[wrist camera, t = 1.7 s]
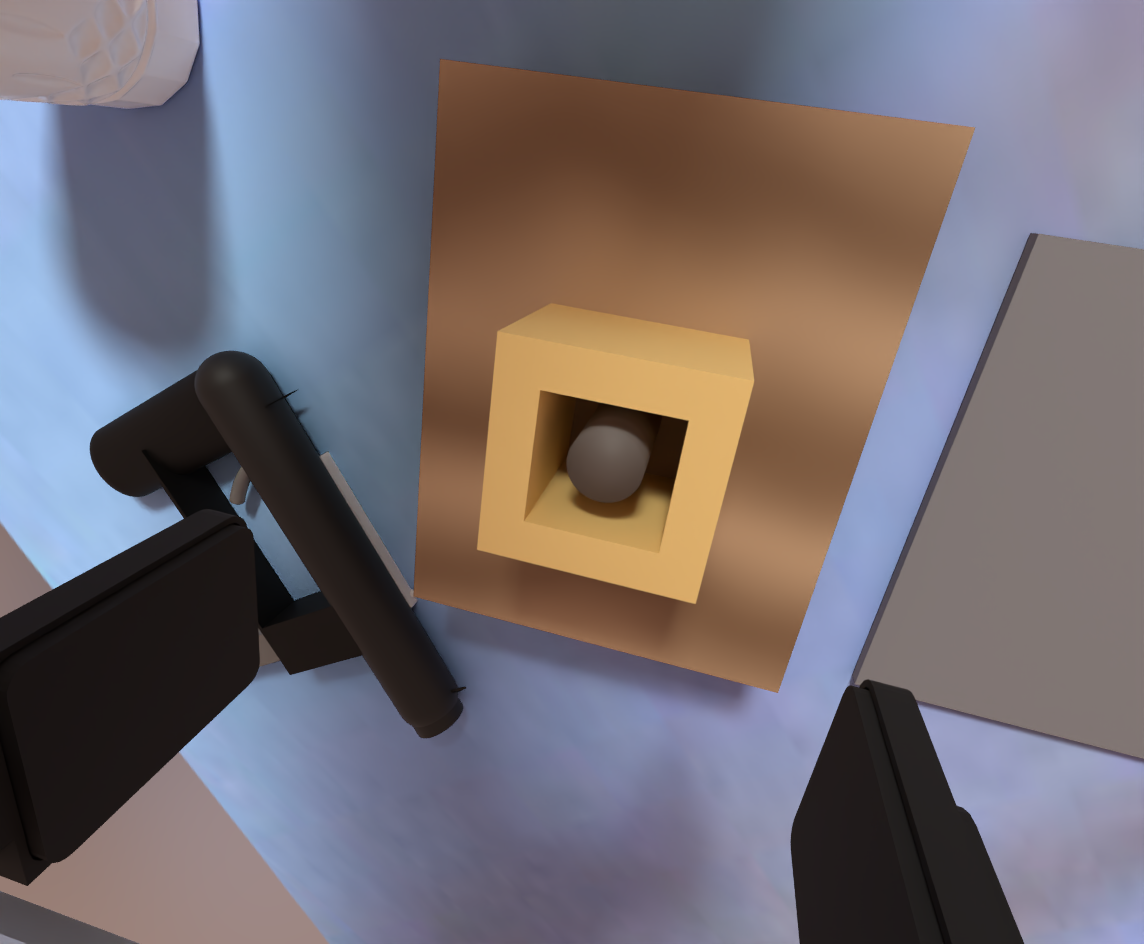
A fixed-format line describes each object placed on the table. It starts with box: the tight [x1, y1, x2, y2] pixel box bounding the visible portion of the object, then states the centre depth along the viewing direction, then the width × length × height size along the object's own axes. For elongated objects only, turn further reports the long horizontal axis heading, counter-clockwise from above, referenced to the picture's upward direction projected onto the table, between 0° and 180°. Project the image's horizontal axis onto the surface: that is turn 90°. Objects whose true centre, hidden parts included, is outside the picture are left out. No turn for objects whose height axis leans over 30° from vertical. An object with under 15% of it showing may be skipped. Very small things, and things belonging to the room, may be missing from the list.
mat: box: [852, 233, 1144, 759], centre depth 23 cm, size 18×12×1 cm, turn 172°
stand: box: [413, 59, 975, 693], centre depth 21 cm, size 18×14×10 cm
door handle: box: [90, 351, 466, 738], centre depth 32 cm, size 3×20×16 cm
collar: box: [477, 303, 754, 604], centre depth 18 cm, size 6×6×5 cm
